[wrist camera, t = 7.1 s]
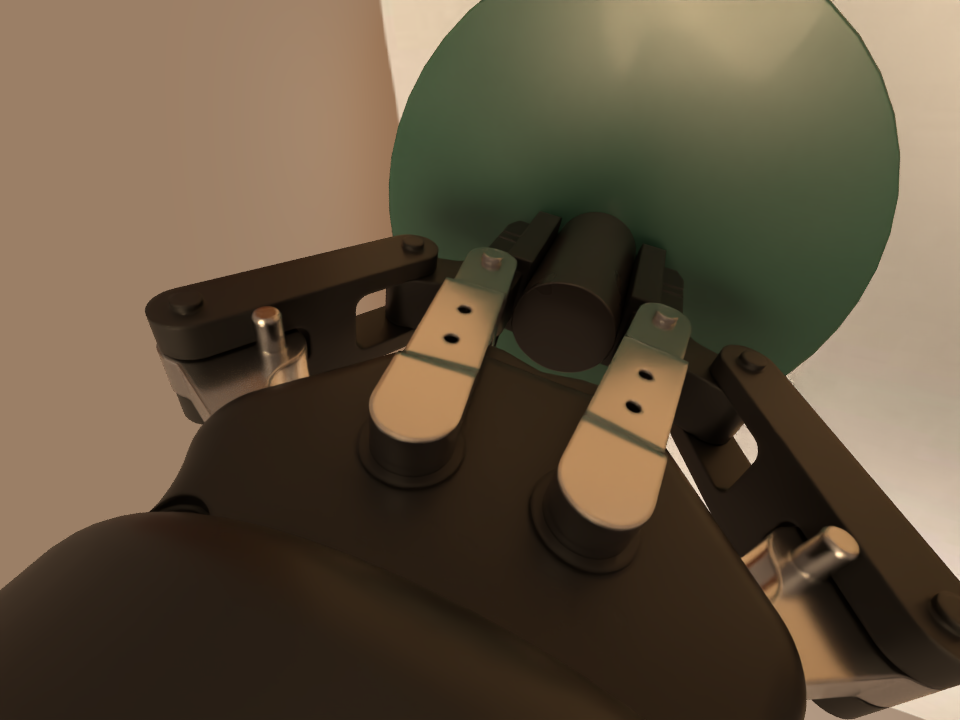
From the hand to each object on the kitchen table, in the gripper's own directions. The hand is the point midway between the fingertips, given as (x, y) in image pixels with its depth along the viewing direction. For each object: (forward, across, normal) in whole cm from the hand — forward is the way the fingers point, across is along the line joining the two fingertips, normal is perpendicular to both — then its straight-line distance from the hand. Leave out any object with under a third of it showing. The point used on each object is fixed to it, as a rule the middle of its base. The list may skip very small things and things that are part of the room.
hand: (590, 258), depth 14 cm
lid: (+1, 0, 0) cm, 1 cm away
